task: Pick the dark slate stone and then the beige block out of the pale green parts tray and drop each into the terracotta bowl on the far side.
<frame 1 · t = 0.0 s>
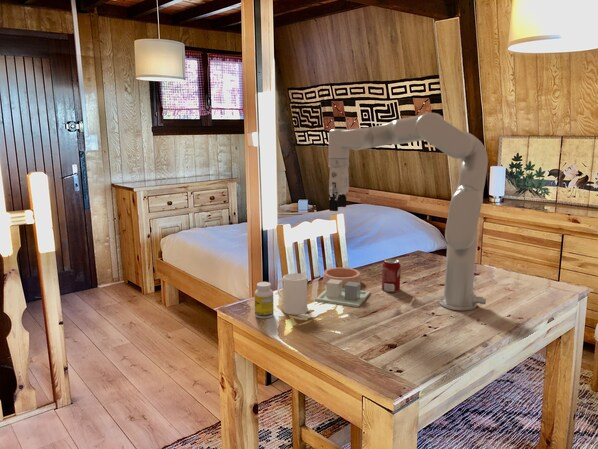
hand: (337, 208, 186), 31 cm above the table, fingers open, 9 cm apart
beige block: (334, 295, 182), resting on parts tray
bowl: (341, 283, 198), on the table
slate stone: (352, 298, 179), resting on parts tray
pill bottle: (264, 316, 165), on the table
soda can: (390, 291, 189), on the table
mug: (291, 309, 171), on the table
parts tray: (343, 298, 181), on the table
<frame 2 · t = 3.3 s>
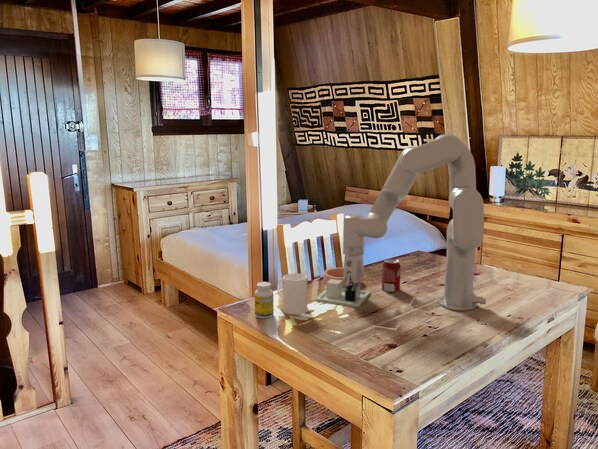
hand: (352, 297, 179), 1 cm above the table, fingers closed on parts tray, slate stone, 4 cm apart
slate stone: (352, 298, 179), point 1 cm above the table, touching gripper, parts tray
everything else where it was.
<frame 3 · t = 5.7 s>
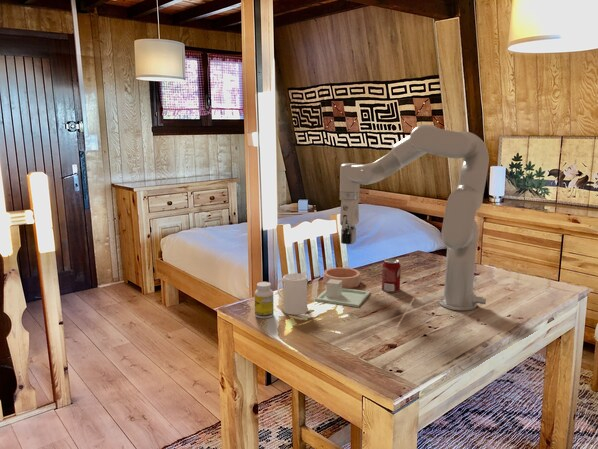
hand: (348, 241, 193), 17 cm above the table, fingers closed on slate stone, 4 cm apart
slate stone: (348, 242, 193), point 17 cm above the table, touching gripper
everything else where it was.
when the fingers open (5 cm above the table, at t = 7.9 s): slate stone drops 4 cm, resting on bowl.
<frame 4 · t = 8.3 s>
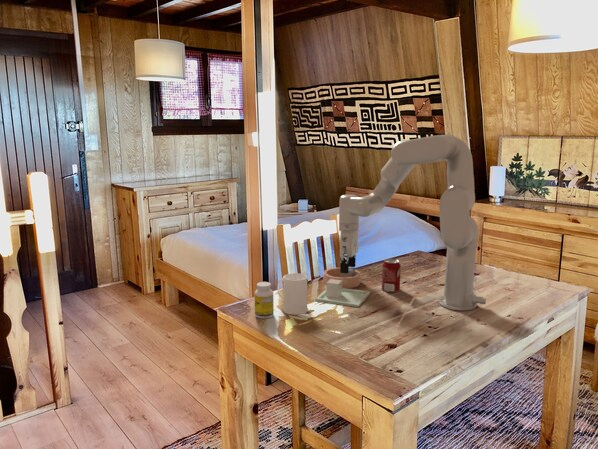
hand: (347, 269, 195), 6 cm above the table, fingers open, 8 cm apart
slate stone: (347, 282, 197), point 1 cm above the table, touching bowl
everything else where it was.
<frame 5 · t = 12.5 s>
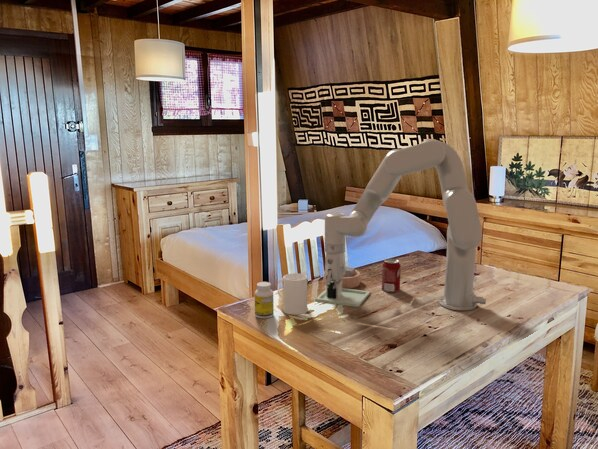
hand: (334, 295, 182), 1 cm above the table, fingers closed on beige block, parts tray, 4 cm apart
beige block: (334, 295, 182), resting on parts tray, touching gripper
everything else where it was.
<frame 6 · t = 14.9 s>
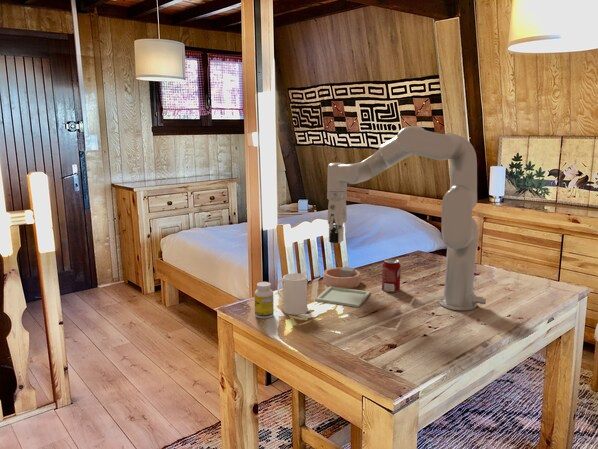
hand: (336, 240, 195), 17 cm above the table, fingers closed on beige block, 4 cm apart
beige block: (336, 241, 195), point 17 cm above the table, touching gripper
everything else where it was.
when the fingers open (5 cm above the table, at t = 17.2 s): beige block drops 4 cm, resting on bowl.
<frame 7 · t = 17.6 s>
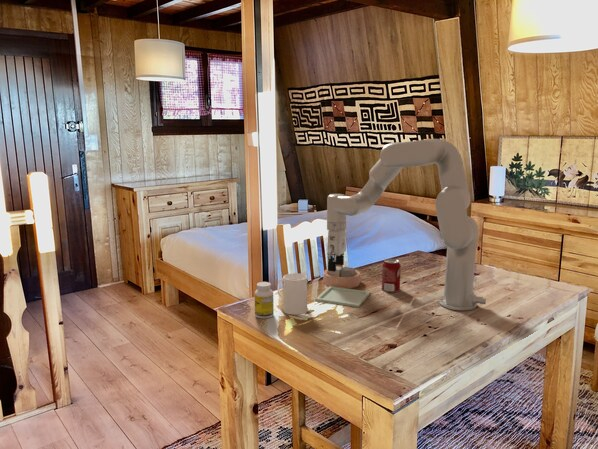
hand: (335, 267, 197), 6 cm above the table, fingers open, 9 cm apart
beige block: (335, 280, 198), point 1 cm above the table, touching bowl
everything else where it was.
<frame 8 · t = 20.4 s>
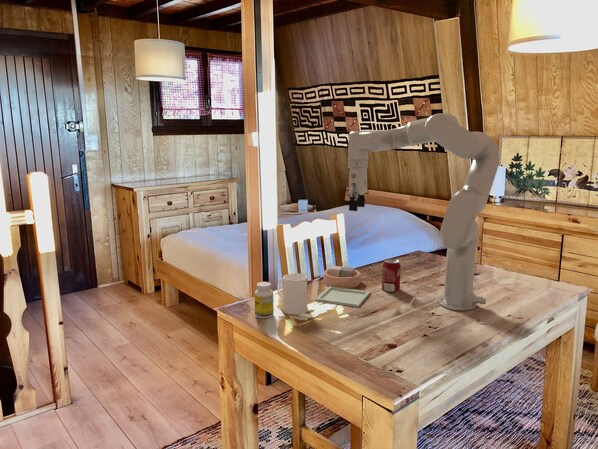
hand: (356, 208, 191), 30 cm above the table, fingers open, 9 cm apart
nothing on the table moved.
at the end: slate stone inside the target area on the bowl (2.5 cm from its centre), point 0.8 cm above the bowl's base; beige block inside the target area on the bowl (2.5 cm from its centre), point 0.8 cm above the bowl's base; the gripper is holding nothing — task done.
